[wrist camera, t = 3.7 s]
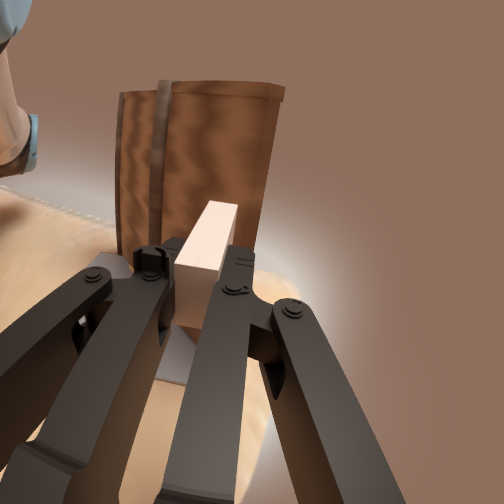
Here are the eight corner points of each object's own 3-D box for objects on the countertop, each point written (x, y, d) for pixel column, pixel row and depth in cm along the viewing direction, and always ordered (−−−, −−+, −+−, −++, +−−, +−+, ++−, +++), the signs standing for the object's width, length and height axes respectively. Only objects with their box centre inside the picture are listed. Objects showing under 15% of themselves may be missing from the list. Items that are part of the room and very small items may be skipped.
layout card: (31, 337, 25) (30, 334, 25) (101, 253, 42) (101, 251, 42) (194, 387, 25) (194, 384, 25) (221, 276, 43) (221, 273, 43)
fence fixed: (172, 302, 36) (187, 81, 24) (155, 308, 34) (164, 79, 22) (128, 248, 45) (133, 85, 33) (115, 252, 44) (117, 85, 31)
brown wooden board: (160, 304, 34) (171, 81, 22) (170, 301, 35) (184, 82, 23) (222, 375, 27) (269, 82, 15) (233, 369, 27) (285, 86, 16)
